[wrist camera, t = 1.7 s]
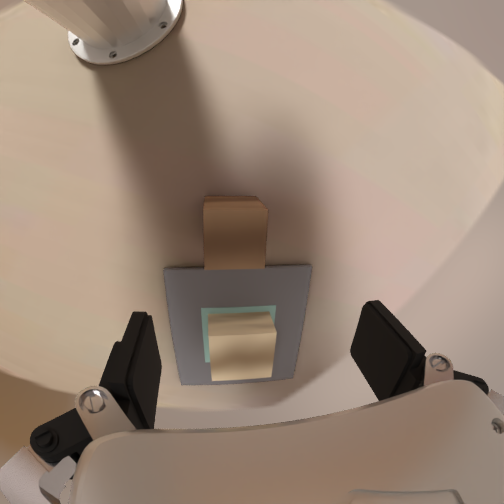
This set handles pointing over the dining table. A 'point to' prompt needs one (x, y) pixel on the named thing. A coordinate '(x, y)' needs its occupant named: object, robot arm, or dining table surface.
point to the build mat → (235, 301)
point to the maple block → (241, 345)
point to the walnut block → (234, 232)
